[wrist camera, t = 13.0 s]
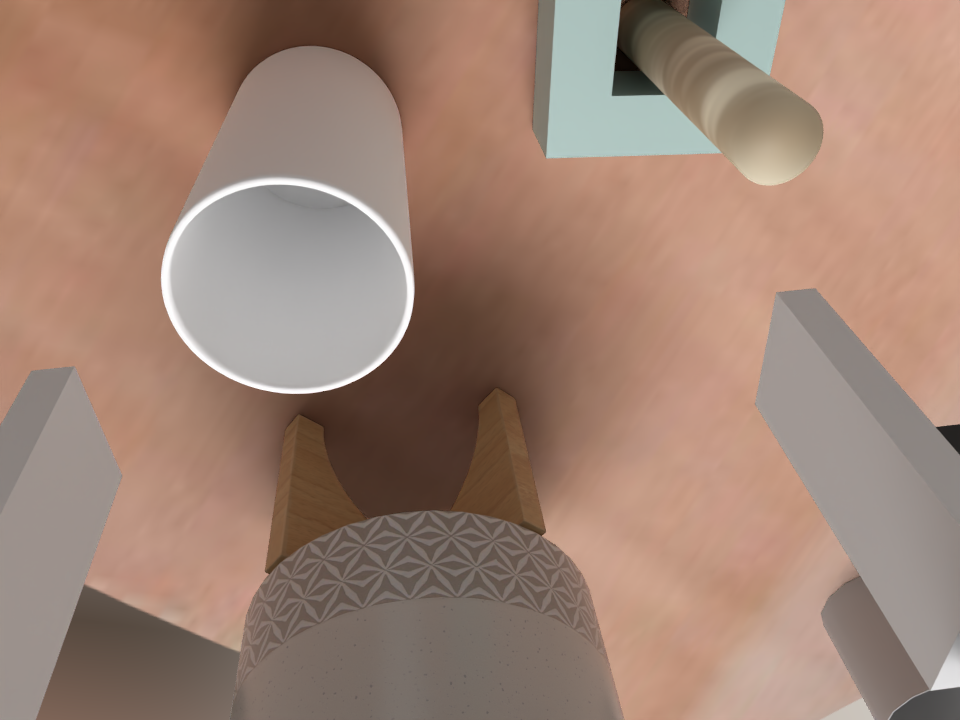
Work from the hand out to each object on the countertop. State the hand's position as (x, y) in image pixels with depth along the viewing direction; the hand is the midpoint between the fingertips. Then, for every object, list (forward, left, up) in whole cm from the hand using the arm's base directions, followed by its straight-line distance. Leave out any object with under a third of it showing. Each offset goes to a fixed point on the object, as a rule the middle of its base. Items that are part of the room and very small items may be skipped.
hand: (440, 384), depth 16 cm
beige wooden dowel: (-1, +11, -27) cm, 29 cm away
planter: (+28, 0, -27) cm, 39 cm away
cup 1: (+4, -4, -27) cm, 28 cm away
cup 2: (+45, +37, -27) cm, 64 cm away
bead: (-1, +11, -27) cm, 29 cm away
